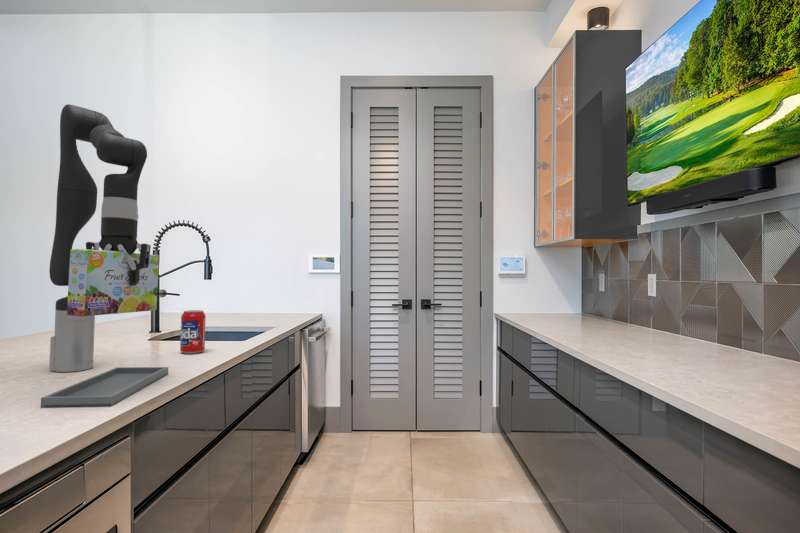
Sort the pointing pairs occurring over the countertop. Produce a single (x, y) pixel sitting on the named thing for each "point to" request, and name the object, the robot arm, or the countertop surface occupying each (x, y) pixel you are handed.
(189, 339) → the soda can
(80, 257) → the snack box
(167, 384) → the countertop surface
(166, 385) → the countertop surface
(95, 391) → the tray
